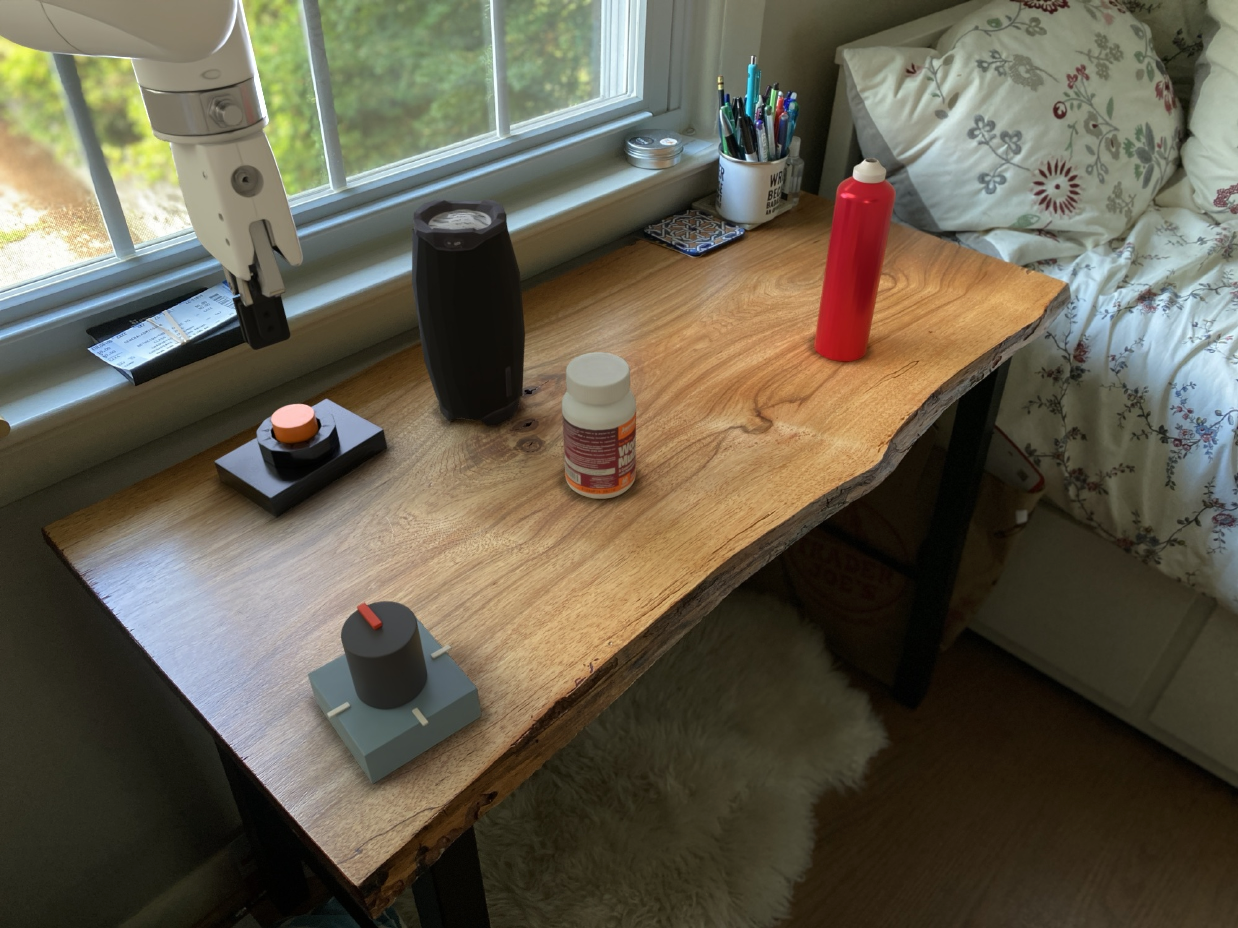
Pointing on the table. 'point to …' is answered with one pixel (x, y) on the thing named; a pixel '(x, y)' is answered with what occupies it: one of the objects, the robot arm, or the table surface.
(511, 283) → the portable speaker
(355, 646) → the dial
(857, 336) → the bottle
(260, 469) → the button block
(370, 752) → the panel
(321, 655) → the table surface
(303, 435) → the button
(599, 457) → the pill bottle
